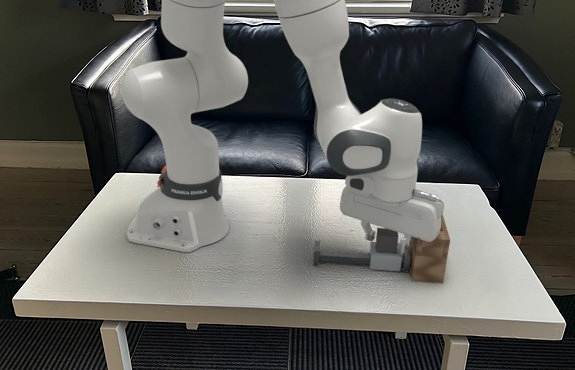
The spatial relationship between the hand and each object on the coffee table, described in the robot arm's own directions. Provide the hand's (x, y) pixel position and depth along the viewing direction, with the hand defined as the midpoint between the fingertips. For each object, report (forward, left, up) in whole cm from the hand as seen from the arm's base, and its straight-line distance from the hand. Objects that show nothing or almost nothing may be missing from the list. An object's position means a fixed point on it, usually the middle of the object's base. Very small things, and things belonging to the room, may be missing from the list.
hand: (385, 244), depth 114 cm
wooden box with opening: (+8, 0, -5) cm, 10 cm away
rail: (-5, 0, -5) cm, 7 cm away
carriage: (0, 0, -5) cm, 5 cm away
